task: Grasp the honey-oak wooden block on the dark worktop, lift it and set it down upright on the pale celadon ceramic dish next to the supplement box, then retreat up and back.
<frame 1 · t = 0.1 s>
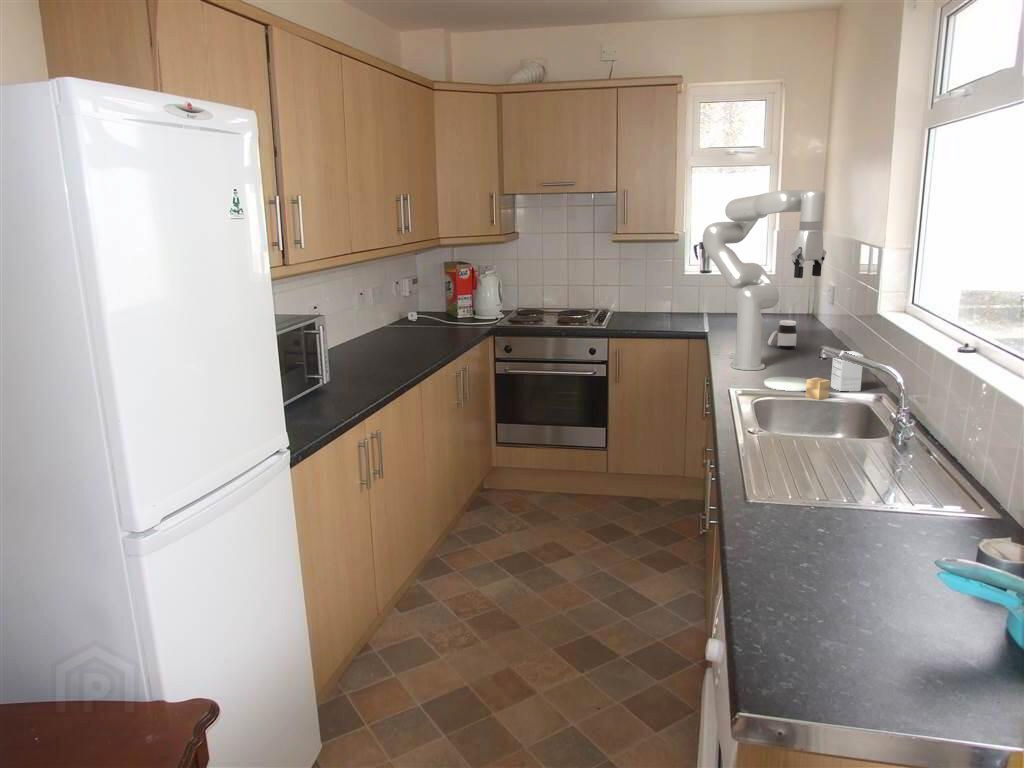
hand: (807, 276, 268), 37 cm above the counter, tool pointing down, fingers open, 9 cm apart
supplement box: (845, 389, 261), on the counter
spread jar: (781, 347, 334), on the counter
block: (816, 397, 251), on the counter
dish: (791, 385, 267), on the counter
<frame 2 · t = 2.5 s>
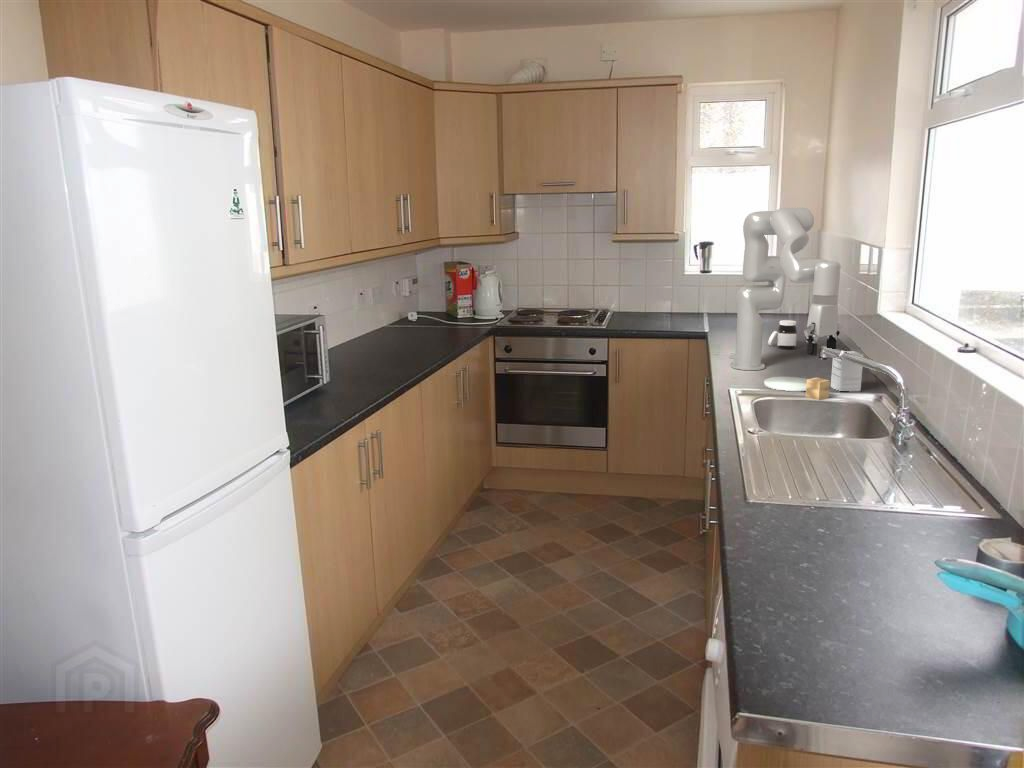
hand: (821, 353, 247), 15 cm above the counter, tool pointing down, fingers open, 9 cm apart
nothing on the counter moved.
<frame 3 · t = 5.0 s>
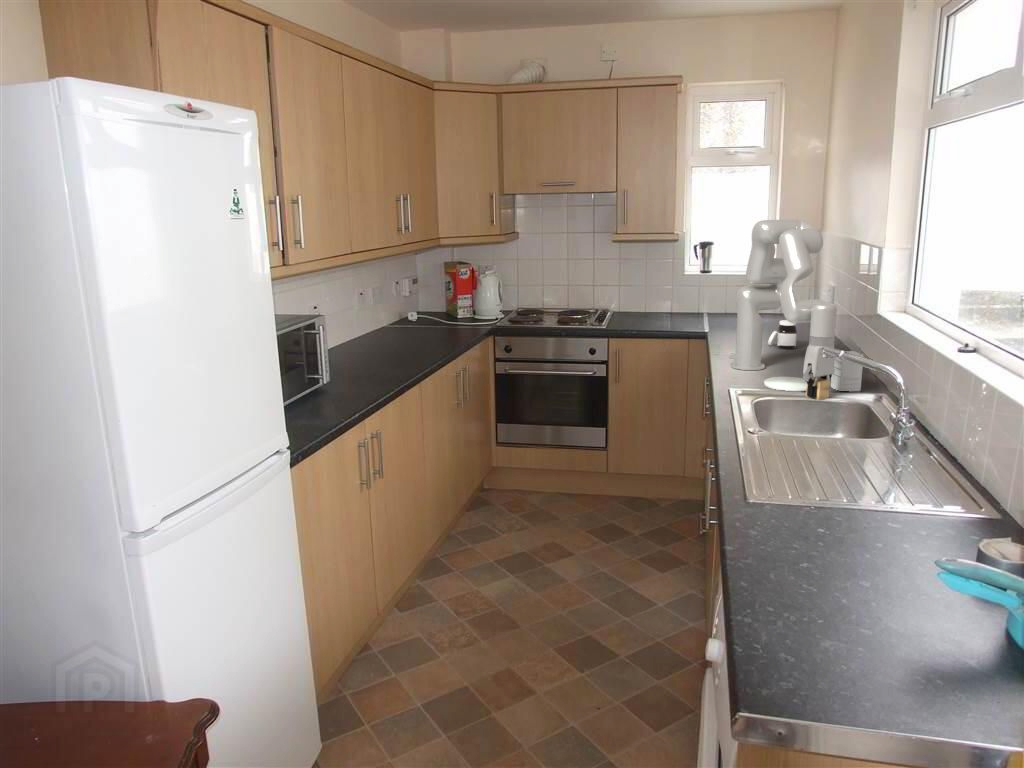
hand: (817, 395, 251), 1 cm above the counter, tool pointing down, fingers closed on block, 5 cm apart
block: (817, 397, 251), on the counter, touching gripper
everything else where it was.
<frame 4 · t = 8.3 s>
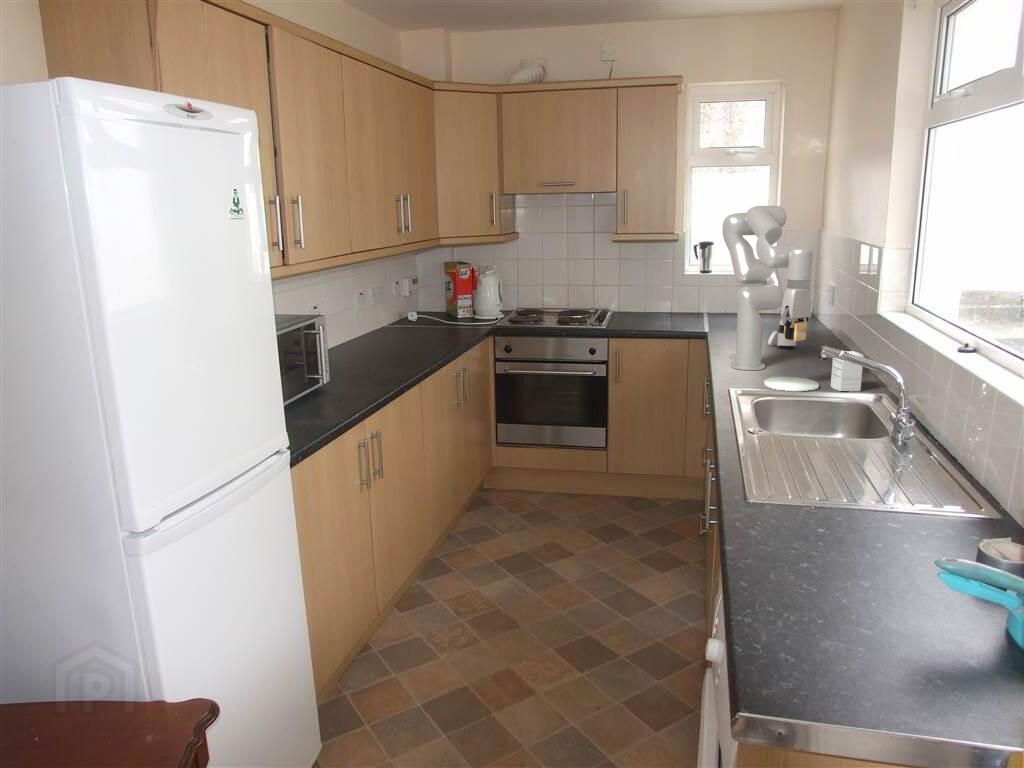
hand: (794, 337, 263), 17 cm above the counter, tool pointing down, fingers closed on block, 5 cm apart
block: (794, 339, 263), point 16 cm above the counter, touching gripper
everything else where it was.
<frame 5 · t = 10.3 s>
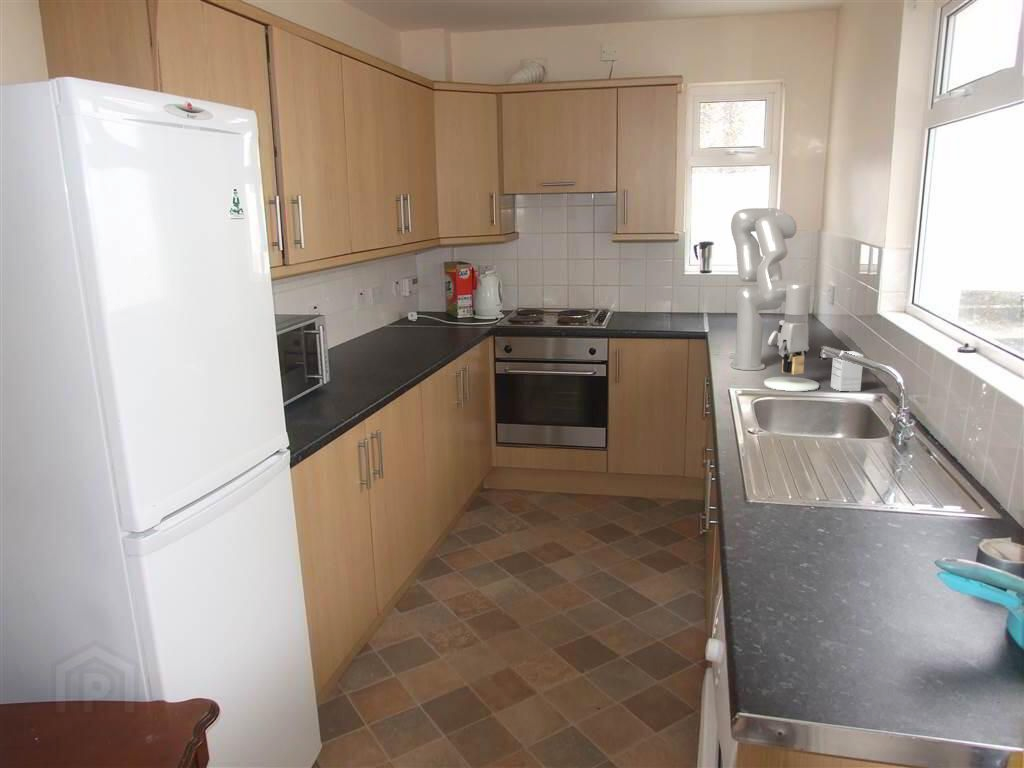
hand: (792, 370, 265), 6 cm above the counter, tool pointing down, fingers closed on block, 5 cm apart
block: (792, 372, 265), point 5 cm above the counter, touching gripper
everything else where it was.
when the fingers open (3 cm above the counter, at t = 11.6 s): block drops 1 cm, resting on dish.
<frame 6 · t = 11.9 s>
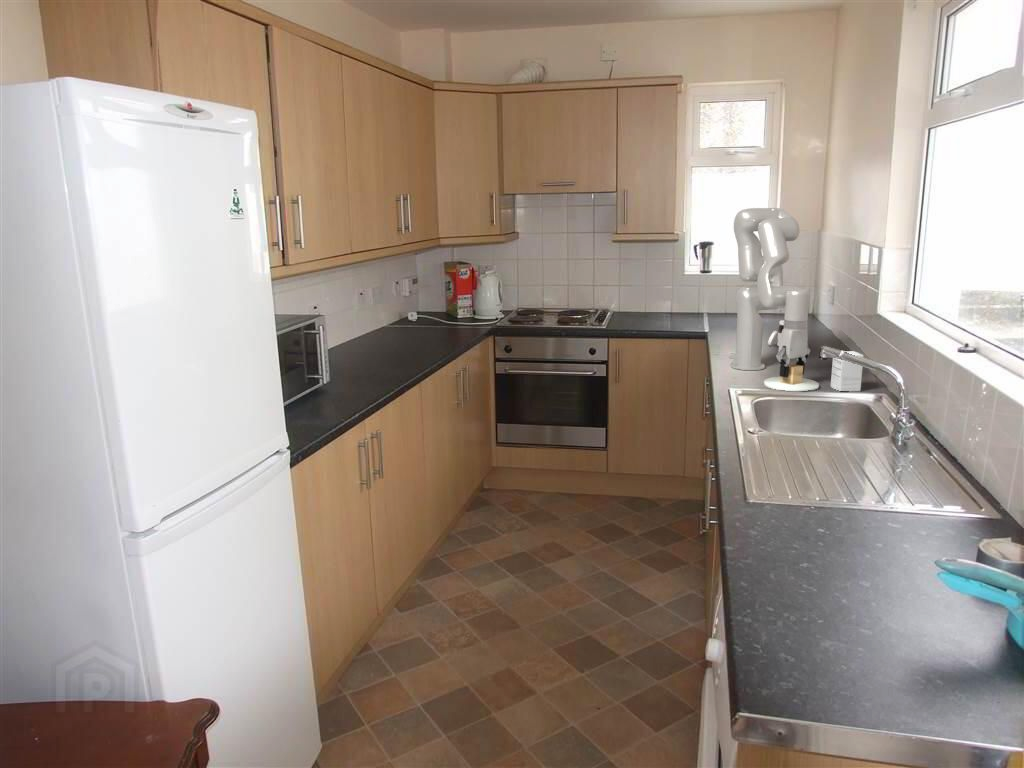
hand: (791, 374, 266), 4 cm above the counter, tool pointing down, fingers open, 7 cm apart
block: (791, 382, 266), point 1 cm above the counter, touching dish
everything else where it was.
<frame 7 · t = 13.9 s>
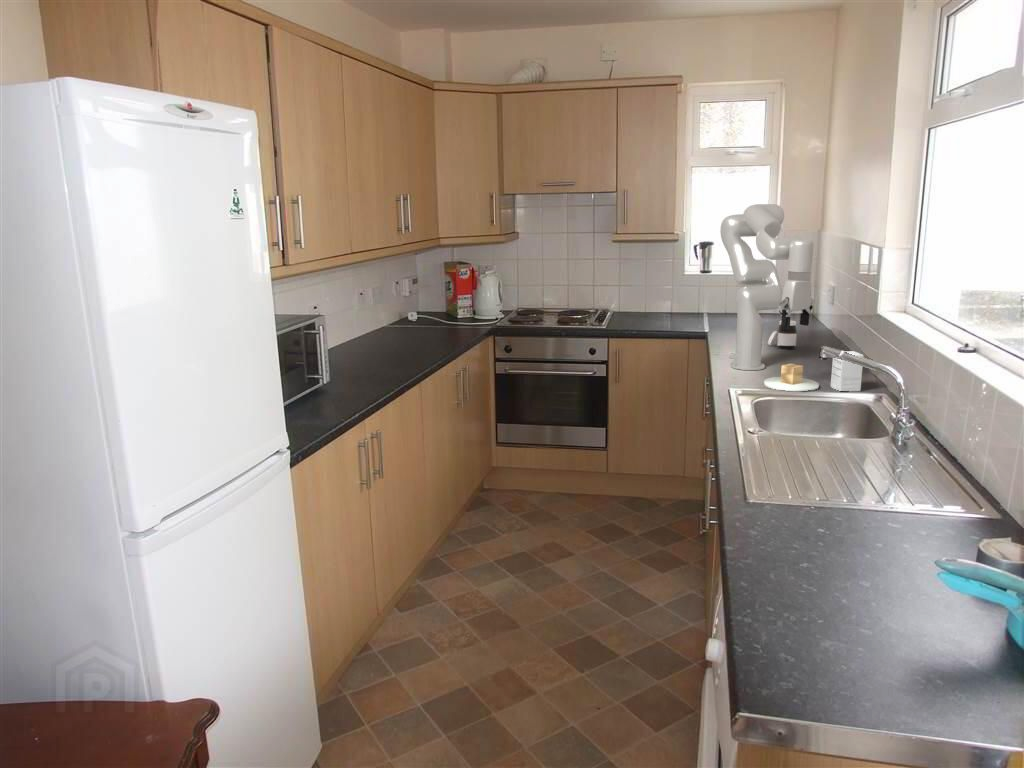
hand: (794, 326, 263), 21 cm above the counter, tool pointing down, fingers open, 9 cm apart
nothing on the counter moved.
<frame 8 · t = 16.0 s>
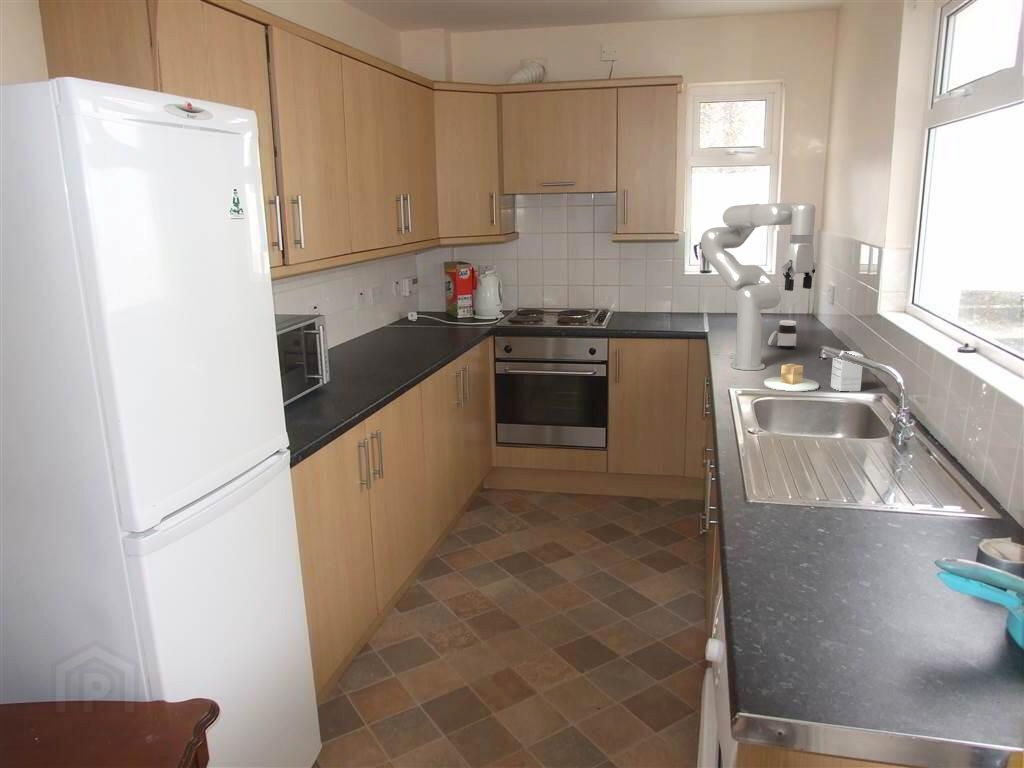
hand: (798, 289, 269), 32 cm above the counter, tool pointing down, fingers open, 9 cm apart
nothing on the counter moved.
at the end: block inside the target area on the dish (0.1 cm from its centre), point 1.2 cm above the dish's base; block tilted 0°; the gripper is holding nothing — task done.
